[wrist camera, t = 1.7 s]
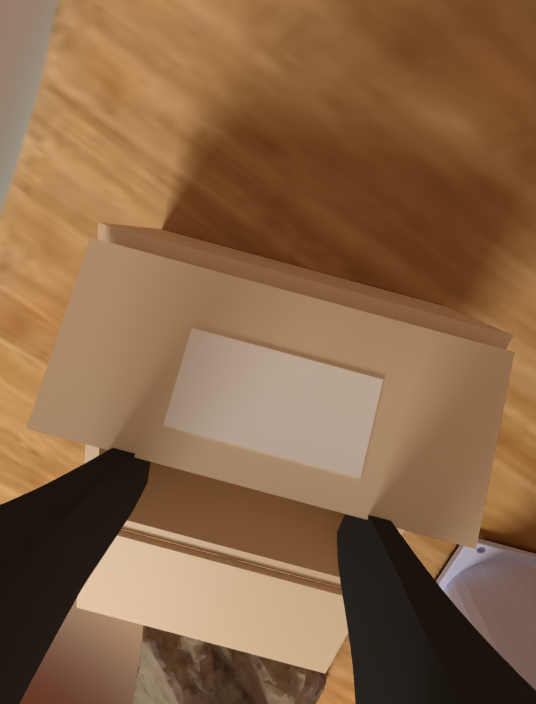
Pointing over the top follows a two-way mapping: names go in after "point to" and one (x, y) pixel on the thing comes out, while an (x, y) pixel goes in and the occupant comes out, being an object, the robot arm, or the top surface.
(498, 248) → the top surface
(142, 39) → the top surface
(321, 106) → the top surface
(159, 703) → the artifact
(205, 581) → the carton
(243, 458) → the cardboard box flap
